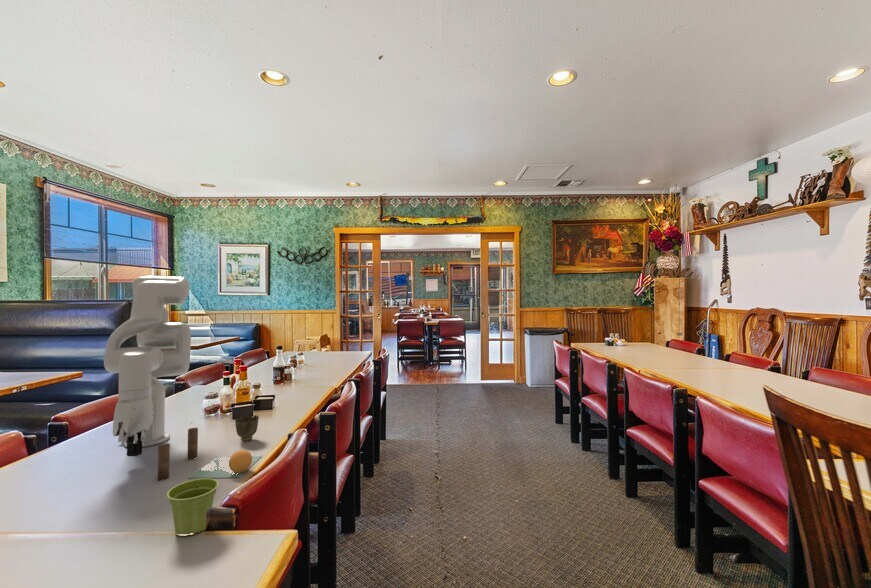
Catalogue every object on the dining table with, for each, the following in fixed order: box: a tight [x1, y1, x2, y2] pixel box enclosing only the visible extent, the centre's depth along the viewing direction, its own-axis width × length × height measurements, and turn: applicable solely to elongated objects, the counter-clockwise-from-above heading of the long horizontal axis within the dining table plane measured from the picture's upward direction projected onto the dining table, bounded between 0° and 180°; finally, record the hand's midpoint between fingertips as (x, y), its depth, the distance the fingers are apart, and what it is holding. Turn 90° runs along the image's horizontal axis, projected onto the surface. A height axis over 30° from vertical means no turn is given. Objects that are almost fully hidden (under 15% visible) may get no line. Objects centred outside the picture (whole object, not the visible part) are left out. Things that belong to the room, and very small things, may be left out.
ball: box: [229, 449, 252, 473], centre depth 107 cm, size 6×6×6 cm
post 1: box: [157, 443, 171, 481], centre depth 103 cm, size 3×3×9 cm
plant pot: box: [166, 478, 220, 535], centre depth 80 cm, size 9×9×9 cm
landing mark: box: [188, 455, 263, 480], centre depth 110 cm, size 14×14×1 cm
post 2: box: [187, 427, 199, 460], centre depth 116 cm, size 3×3×9 cm
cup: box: [234, 414, 260, 443], centre depth 131 cm, size 8×7×8 cm
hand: (134, 455), depth 110 cm, fingers closed
